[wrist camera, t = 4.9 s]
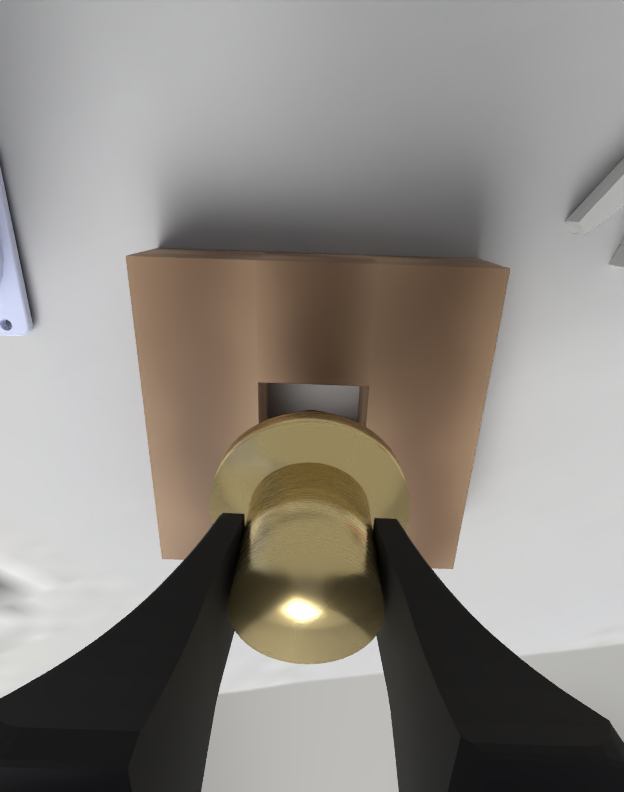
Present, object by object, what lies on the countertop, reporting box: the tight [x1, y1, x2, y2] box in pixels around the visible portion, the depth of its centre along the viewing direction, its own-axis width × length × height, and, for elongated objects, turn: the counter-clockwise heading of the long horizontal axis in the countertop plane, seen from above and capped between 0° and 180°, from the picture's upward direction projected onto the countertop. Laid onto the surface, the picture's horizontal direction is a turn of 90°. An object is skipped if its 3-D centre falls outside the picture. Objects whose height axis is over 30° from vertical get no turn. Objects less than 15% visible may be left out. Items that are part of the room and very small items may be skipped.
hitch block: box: [126, 248, 510, 569], centre depth 21 cm, size 14×14×4 cm
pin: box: [209, 410, 410, 664], centre depth 14 cm, size 6×6×7 cm
